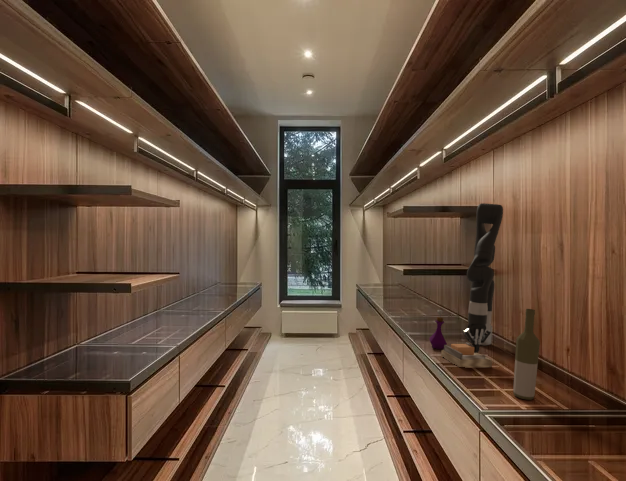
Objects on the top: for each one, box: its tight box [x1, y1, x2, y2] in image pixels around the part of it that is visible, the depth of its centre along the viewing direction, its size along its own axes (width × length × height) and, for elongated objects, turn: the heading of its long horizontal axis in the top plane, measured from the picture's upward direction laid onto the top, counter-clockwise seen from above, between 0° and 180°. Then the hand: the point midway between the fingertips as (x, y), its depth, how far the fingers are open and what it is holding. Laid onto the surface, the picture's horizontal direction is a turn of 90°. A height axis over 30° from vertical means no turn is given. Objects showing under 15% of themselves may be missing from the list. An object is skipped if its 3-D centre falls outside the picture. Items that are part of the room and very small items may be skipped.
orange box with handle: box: [450, 341, 474, 355], centre depth 170 cm, size 8×5×5 cm, turn 104°
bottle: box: [512, 308, 541, 401], centre depth 135 cm, size 7×7×30 cm
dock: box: [440, 345, 493, 369], centre depth 171 cm, size 15×14×6 cm
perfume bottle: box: [428, 309, 448, 350], centre depth 190 cm, size 8×8×18 cm
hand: (475, 352), depth 172 cm, fingers closed
